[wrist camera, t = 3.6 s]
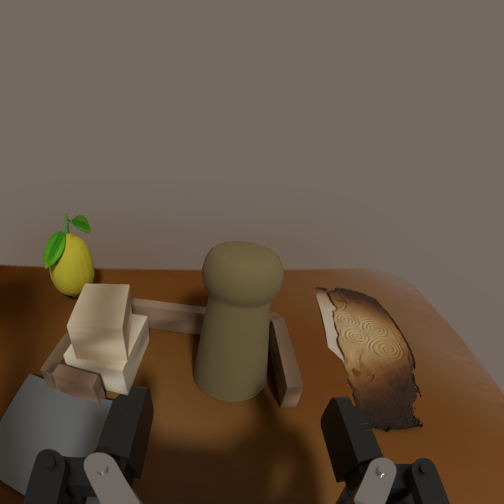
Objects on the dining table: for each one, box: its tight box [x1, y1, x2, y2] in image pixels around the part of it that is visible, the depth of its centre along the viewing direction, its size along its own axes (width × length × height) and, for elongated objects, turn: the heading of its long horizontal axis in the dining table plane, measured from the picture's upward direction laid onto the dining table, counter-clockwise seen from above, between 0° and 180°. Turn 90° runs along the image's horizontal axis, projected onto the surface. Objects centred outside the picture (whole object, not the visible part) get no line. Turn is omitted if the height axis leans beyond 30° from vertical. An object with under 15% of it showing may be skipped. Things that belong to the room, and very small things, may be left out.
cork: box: [193, 241, 284, 402], centre depth 19 cm, size 6×6×11 cm
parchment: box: [315, 287, 423, 432], centre depth 27 cm, size 25×10×1 cm, turn 174°
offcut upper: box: [67, 283, 132, 362], centre depth 18 cm, size 4×6×3 cm, turn 17°
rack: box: [40, 298, 304, 408], centre depth 20 cm, size 19×12×2 cm, turn 93°
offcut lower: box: [63, 314, 150, 395], centre depth 19 cm, size 5×7×3 cm
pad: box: [0, 374, 113, 504], centre depth 10 cm, size 10×10×1 cm
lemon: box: [44, 213, 95, 298], centre depth 25 cm, size 7×6×10 cm
